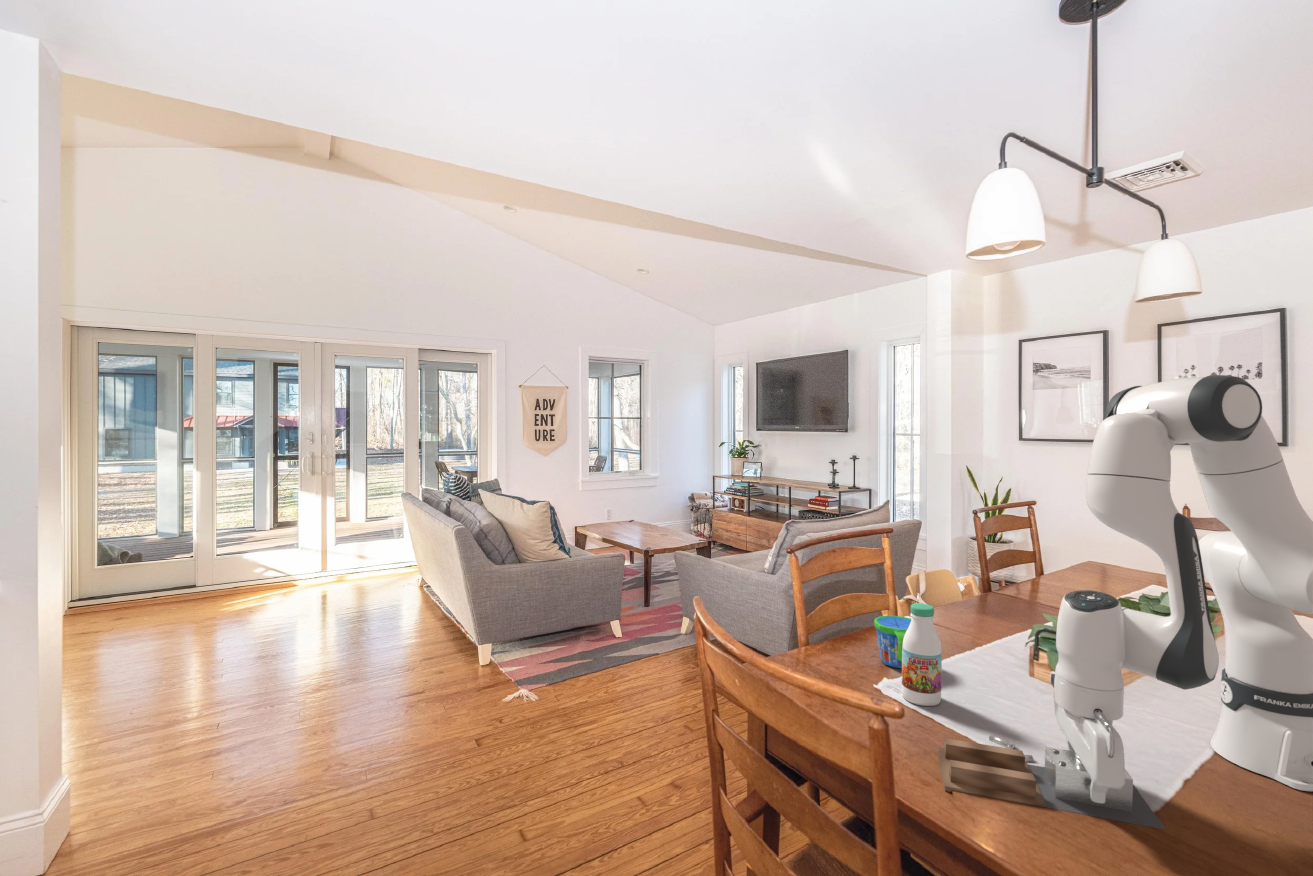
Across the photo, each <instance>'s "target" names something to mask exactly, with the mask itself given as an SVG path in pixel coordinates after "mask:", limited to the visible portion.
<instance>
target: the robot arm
mask: <svg viewBox="0 0 1313 876" xmlns="http://www.w3.org/2000/svg"><path fill="white" fill-rule="evenodd" d="M1262 413H1263V401H1262V398H1261V396H1260V394H1259V392H1258V391H1257V389H1256V388H1255V387H1253V385H1252V384H1250V382H1248V380H1245V379H1244V378H1242V377H1239V376H1235V375H1225V374H1224V375H1223V374H1213V375H1207V376H1201V377H1200V376H1199V377H1198V376H1196V377H1195V376H1194V377H1181V378H1180V377H1179V378H1173V379H1167V380H1165V381H1159V382H1154V383H1151V384H1146V385H1135V386H1131V387H1128V388H1126V389H1122V390H1121V391H1119V392H1117V393H1115V394H1114V395H1113V396H1112V397H1111V398H1110V400H1109V402H1108V403H1107V405H1106V408H1105V411H1104V419H1103V420H1102V421H1101V422H1100V423H1099V425H1098V427H1097V429H1096V431H1095V435H1094V439H1093V442H1092V444H1091V449H1090V452H1089V453H1090V454H1089V458H1088V463H1087V464H1088V465H1087V470H1086V471H1087V472H1086V481H1085V499H1086V505H1087V506H1088V509H1089V510H1090V512H1091V513H1092V514H1093V516H1095V518H1096V519H1098V520H1099V521H1100V522H1101V523H1102V524H1104V525H1105V526H1107V527H1108V528H1110V529H1111V530H1114V531H1115V532H1118V533H1120V534H1122V535H1124V536H1127V537H1128V538H1131V539H1133V540H1135V541H1136V542H1139V543H1141V544H1142V545H1145V546H1146V547H1147V548H1149V549H1150V550H1152V551H1153V552H1155V554H1157V556H1158V557H1159V558H1160V560H1161V562H1162V564H1163V566H1164V570H1165V571H1164V572H1165V579H1166V585H1167V593H1168V594H1167V595H1168V600H1169V601H1168V602H1169V610H1170V615H1169V616H1164V615H1163V616H1162V615H1158V614H1153V613H1150V612H1149V613H1148V612H1144V611H1140V610H1137V609H1131V608H1128V607H1125V606H1122V605H1121V602H1120V600H1118V599H1117V598H1116V597H1115V596H1113V595H1111V594H1108V593H1106V592H1102V591H1098V590H1091V589H1086V590H1085V589H1083V590H1081V589H1080V590H1074V591H1071V592H1068V593H1066V594H1064V595H1063V598H1062V599H1061V603H1060V607H1059V611H1058V617H1057V622H1056V623H1057V624H1056V633H1055V647H1056V651H1057V655H1058V660H1057V663H1056V666H1055V671H1054V670H1053V671H1050V673H1049V674H1050V675H1049V679H1050V684H1051V685H1052V687H1053V704H1054V705H1053V706H1054V714H1055V720H1056V722H1057V725H1058V726H1059V728H1060V729H1061V731H1062V733H1063V734H1064V736H1065V739H1066V745H1067V750H1069V751H1075V752H1076V754H1077V756H1078V757H1079V759H1080V760H1081V762H1082V764H1083V765H1084V767H1085V769H1086V770H1087V772H1088V774H1089V775H1090V778H1091V785H1088V790H1089V791H1088V794H1089V796H1090V798H1091V800H1092V801H1093V802H1096V803H1102V804H1103V803H1105V799H1106V792H1107V790H1108V788H1113V789H1122V788H1123V786H1124V785H1125V769H1126V762H1125V749H1124V742H1123V740H1122V737H1121V735H1120V733H1119V732H1118V731H1117V729H1115V727H1114V725H1113V722H1114V721H1117V720H1120V719H1122V718H1123V716H1124V706H1125V705H1124V702H1125V701H1124V698H1125V697H1124V695H1125V681H1124V678H1123V675H1122V669H1123V670H1126V671H1130V672H1133V673H1138V674H1140V675H1144V676H1147V677H1150V678H1152V679H1153V678H1154V679H1156V680H1157V681H1160V682H1163V683H1166V684H1168V685H1171V686H1173V687H1177V688H1179V689H1181V690H1191V689H1196V688H1199V687H1202V686H1205V685H1207V684H1209V683H1211V682H1213V681H1214V680H1215V678H1216V676H1217V673H1218V670H1219V665H1220V657H1219V655H1220V654H1219V651H1218V647H1217V644H1216V640H1215V639H1216V638H1215V635H1214V629H1213V626H1212V622H1211V621H1212V620H1211V617H1210V616H1211V615H1210V611H1209V610H1210V609H1209V608H1210V607H1209V604H1208V603H1209V602H1208V601H1209V600H1208V595H1207V587H1206V582H1208V584H1209V586H1210V587H1211V589H1212V591H1213V594H1214V596H1215V599H1216V601H1217V603H1218V604H1217V605H1218V607H1219V610H1220V613H1221V616H1222V619H1223V625H1224V632H1225V633H1224V634H1225V663H1224V665H1225V668H1223V669H1222V670H1221V678H1220V700H1221V702H1222V703H1221V708H1220V709H1221V710H1220V715H1219V719H1218V723H1217V725H1216V728H1215V730H1214V734H1213V736H1212V737H1211V740H1210V741H1209V744H1210V747H1211V748H1212V749H1213V751H1215V752H1216V754H1219V755H1220V756H1221V757H1222V758H1224V759H1225V760H1227V761H1229V762H1231V763H1233V764H1236V765H1237V766H1239V767H1240V768H1243V769H1246V770H1248V771H1251V772H1254V773H1256V774H1260V775H1262V776H1266V777H1268V778H1271V779H1272V780H1276V781H1277V782H1279V783H1281V784H1284V785H1287V787H1290V788H1292V789H1295V790H1299V791H1305V792H1313V637H1312V636H1311V635H1310V634H1309V633H1308V632H1307V631H1306V630H1305V629H1304V628H1303V626H1302V625H1301V624H1300V622H1299V621H1298V619H1297V617H1296V616H1295V614H1294V612H1293V611H1295V612H1298V613H1302V614H1303V613H1304V614H1310V615H1313V520H1312V519H1311V518H1310V516H1309V515H1308V514H1307V512H1306V511H1305V509H1304V507H1303V505H1302V504H1301V503H1300V500H1299V499H1298V496H1297V494H1296V491H1295V489H1294V486H1293V483H1292V480H1291V479H1290V476H1289V475H1290V474H1289V472H1288V469H1287V467H1286V464H1285V460H1284V458H1283V455H1282V452H1281V449H1280V446H1279V444H1278V443H1277V439H1276V437H1275V435H1274V434H1273V432H1272V429H1271V427H1270V426H1269V424H1268V423H1267V421H1266V419H1265V418H1264V416H1263V414H1262ZM1185 444H1188V445H1189V446H1190V452H1191V456H1192V461H1193V465H1194V467H1195V471H1196V474H1197V478H1198V480H1199V483H1200V486H1201V489H1202V492H1203V495H1204V498H1205V501H1206V505H1207V507H1208V510H1209V511H1210V512H1211V514H1212V515H1213V516H1214V517H1215V518H1216V519H1217V520H1218V521H1219V522H1221V523H1222V524H1223V525H1224V526H1225V527H1227V528H1228V529H1229V530H1227V531H1226V530H1224V531H1222V530H1221V531H1214V532H1210V533H1208V534H1206V535H1204V536H1203V537H1201V539H1199V538H1198V534H1197V531H1196V529H1195V526H1194V523H1193V522H1192V520H1191V519H1190V517H1188V516H1186V515H1184V514H1182V513H1180V511H1179V510H1178V509H1177V507H1176V505H1175V503H1174V501H1173V497H1172V494H1171V475H1172V474H1171V473H1172V459H1171V458H1172V456H1171V451H1172V449H1173V448H1174V446H1175V445H1179V446H1180V445H1185ZM1205 579H1206V581H1205Z"/></svg>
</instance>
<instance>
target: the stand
mask: <svg viewBox="0 0 1313 876" xmlns="http://www.w3.org/2000/svg"><path fill="white" fill-rule="evenodd" d="M943 740H944V741H943V747H939V746H938V747H936V754H937V758H938V764H939V768H940V772H941V774H940V775H941V779H942V782H943V783H942V784H943V787H944V791H945V792H949V793H953V791H956V792H959V793H966V794H970V795H971V794H972V795H976V796H981V797H988V798H993V799H999V800H1002V801H1003V800H1004V801H1010V802H1015V803H1021V804H1025V805H1030V806H1031V805H1032V806H1035V807H1041V806H1042V808H1046V804H1045V802H1044V799H1043V797H1042V795H1041V793H1040V791H1039V789H1038V786H1037V784H1036V780H1035V778H1034V775H1033V774H1032V773H1031V771H1030V769H1029V767H1028V762H1025V756H1024V755H1025V754H1024V751H1023V750H1020V749H1015V748H1014V749H1009V748H1007V747H1004V746H1002V747H1001V746H995V745H988V744H984V743H983V744H982V743H977V742H970V741H965V740H957V739H952V738H947V737H944V738H943Z"/></svg>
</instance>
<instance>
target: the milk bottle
mask: <svg viewBox="0 0 1313 876" xmlns="http://www.w3.org/2000/svg"><path fill="white" fill-rule="evenodd" d="M910 616H911V618H910V619H911V623H910V625H909V627H908V629H907V631H906V633H905V636H904V639H903V647H902V668H901V695H902V697H903V698H904V699H905V700H906V701H908V702H909V703H911V704H913V705H917V706H922V707H923V706H924V707H933V706H938V705H940V704H941V700H942V669H943V668H942V664H943V662H942V657H943V656H942V653H943V652H942V645H941V640H940V637H939V635H938V633H937V630H936V628H935V624H934V618H935V608H934V606H933V605H930V604H926V603H919V602H918V603H915V602H914V603H913V604H910Z"/></svg>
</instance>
